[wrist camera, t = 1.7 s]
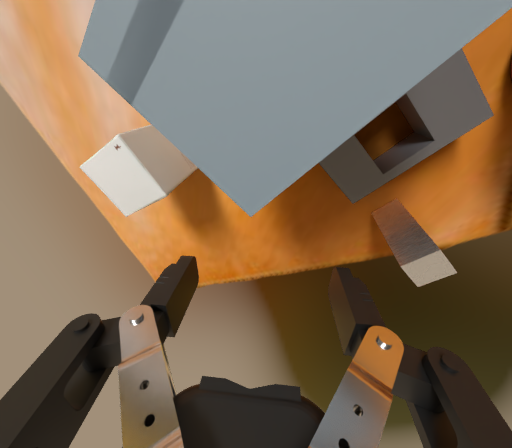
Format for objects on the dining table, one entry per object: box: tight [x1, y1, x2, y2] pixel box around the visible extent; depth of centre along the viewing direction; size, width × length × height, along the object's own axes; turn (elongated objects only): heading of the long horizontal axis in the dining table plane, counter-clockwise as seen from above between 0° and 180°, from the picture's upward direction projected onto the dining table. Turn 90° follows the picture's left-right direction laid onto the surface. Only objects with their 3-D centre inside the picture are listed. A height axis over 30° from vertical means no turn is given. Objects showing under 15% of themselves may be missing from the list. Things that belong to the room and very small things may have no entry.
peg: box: [371, 198, 457, 287], centre depth 28 cm, size 4×4×12 cm
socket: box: [319, 48, 494, 204], centre depth 24 cm, size 15×17×5 cm
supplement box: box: [80, 125, 198, 217], centre depth 28 cm, size 7×7×13 cm
